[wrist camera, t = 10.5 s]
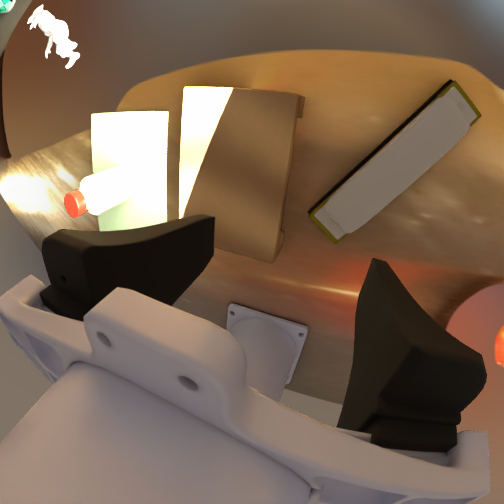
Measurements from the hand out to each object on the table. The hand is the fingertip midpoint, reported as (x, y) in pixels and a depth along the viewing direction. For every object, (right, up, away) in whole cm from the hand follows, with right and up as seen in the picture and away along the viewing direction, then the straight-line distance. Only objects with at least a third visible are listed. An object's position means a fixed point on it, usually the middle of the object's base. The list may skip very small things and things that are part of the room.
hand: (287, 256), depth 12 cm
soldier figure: (-23, +26, +7) cm, 35 cm away
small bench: (-2, +7, +9) cm, 11 cm away
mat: (-14, +7, +13) cm, 20 cm away
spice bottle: (-14, +7, +13) cm, 20 cm away
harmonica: (+8, +7, +5) cm, 12 cm away
